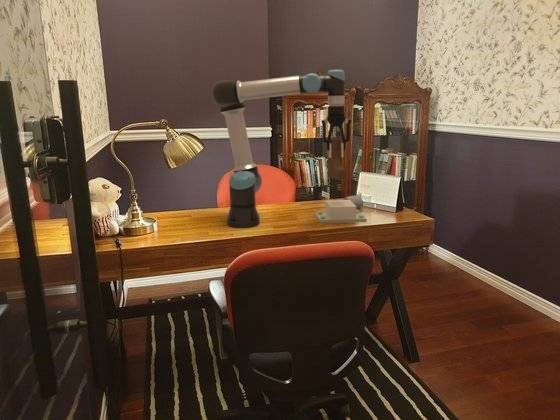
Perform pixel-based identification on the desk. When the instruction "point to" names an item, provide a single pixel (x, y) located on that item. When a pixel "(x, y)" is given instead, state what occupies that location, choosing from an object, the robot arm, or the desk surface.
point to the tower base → (326, 220)
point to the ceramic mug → (356, 201)
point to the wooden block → (335, 160)
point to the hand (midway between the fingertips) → (335, 157)
